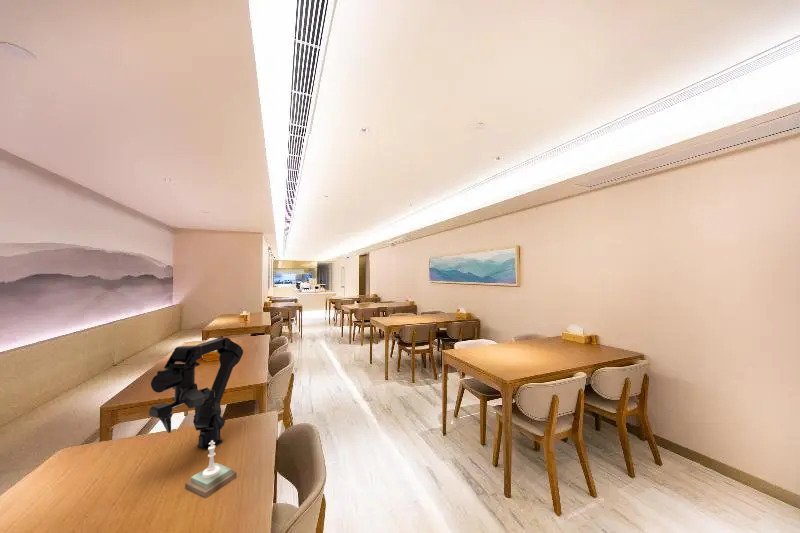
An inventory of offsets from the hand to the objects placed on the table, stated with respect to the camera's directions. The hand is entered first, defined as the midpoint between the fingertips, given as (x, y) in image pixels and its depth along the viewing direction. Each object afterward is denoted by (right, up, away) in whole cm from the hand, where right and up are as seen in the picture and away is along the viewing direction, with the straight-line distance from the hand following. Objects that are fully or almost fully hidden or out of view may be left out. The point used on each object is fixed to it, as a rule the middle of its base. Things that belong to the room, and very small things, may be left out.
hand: (183, 426), depth 103 cm
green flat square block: (+17, -12, -10) cm, 23 cm away
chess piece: (+16, -10, -10) cm, 21 cm away
